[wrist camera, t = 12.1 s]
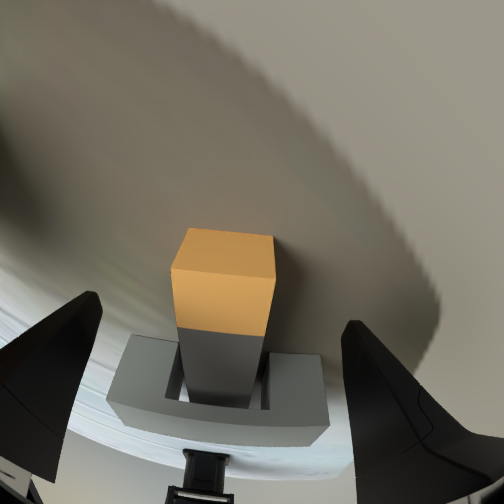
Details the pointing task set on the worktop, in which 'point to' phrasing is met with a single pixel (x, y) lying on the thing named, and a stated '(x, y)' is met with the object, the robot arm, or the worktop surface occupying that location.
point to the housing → (215, 417)
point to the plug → (222, 312)
